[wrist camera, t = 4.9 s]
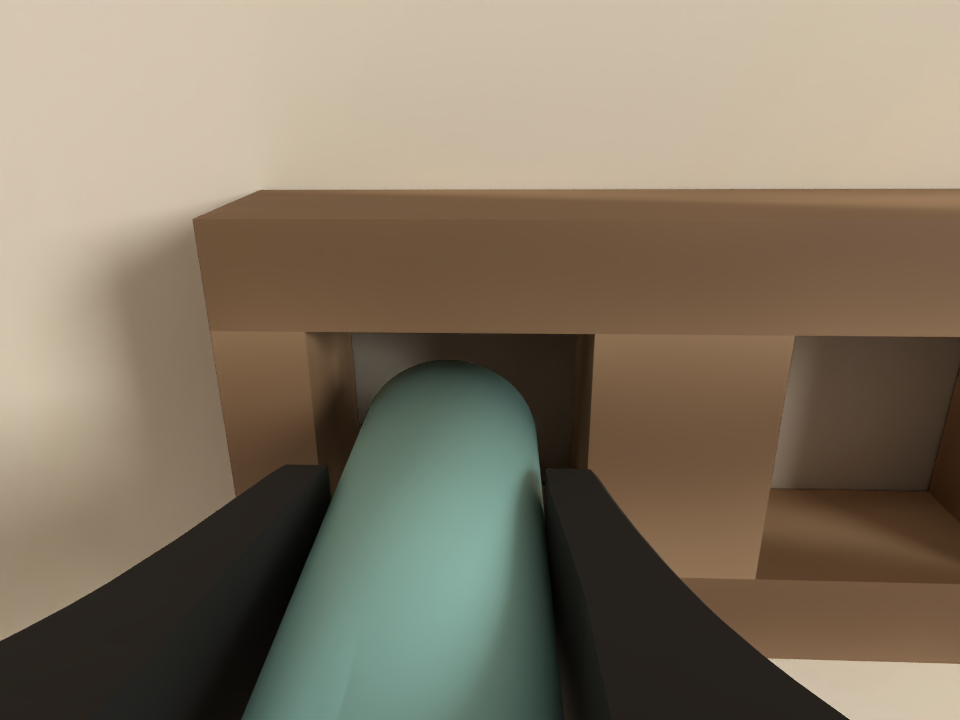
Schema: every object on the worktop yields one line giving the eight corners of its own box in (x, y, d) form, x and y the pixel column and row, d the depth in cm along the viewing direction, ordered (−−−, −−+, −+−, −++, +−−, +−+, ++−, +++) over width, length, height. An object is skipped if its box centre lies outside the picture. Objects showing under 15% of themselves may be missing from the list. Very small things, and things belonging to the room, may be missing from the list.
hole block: (981, 561, 16) (1082, 667, 13) (303, 546, 16) (258, 644, 13) (1093, 189, 13) (1258, 219, 10) (260, 190, 13) (192, 219, 10)
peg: (540, 510, 13) (610, 1327, 4) (375, 517, 13) (139, 1318, 5) (533, 354, 12) (608, 1042, 3) (352, 364, 12) (-11, 1045, 3)
